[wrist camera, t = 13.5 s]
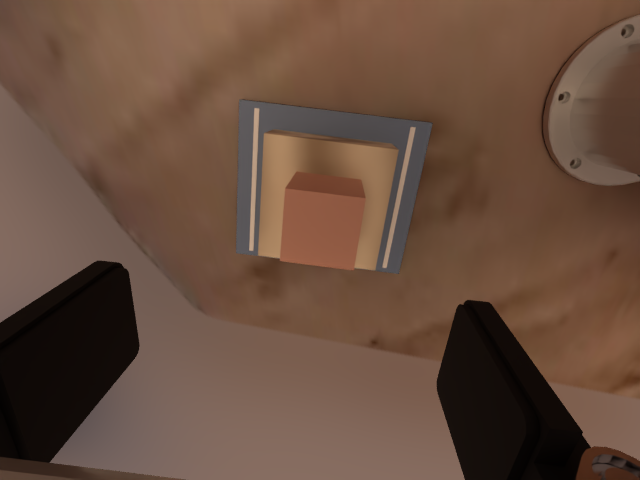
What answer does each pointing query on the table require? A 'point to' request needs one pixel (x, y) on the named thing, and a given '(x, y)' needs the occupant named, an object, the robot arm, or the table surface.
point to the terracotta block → (322, 220)
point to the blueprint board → (395, 131)
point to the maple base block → (334, 160)
